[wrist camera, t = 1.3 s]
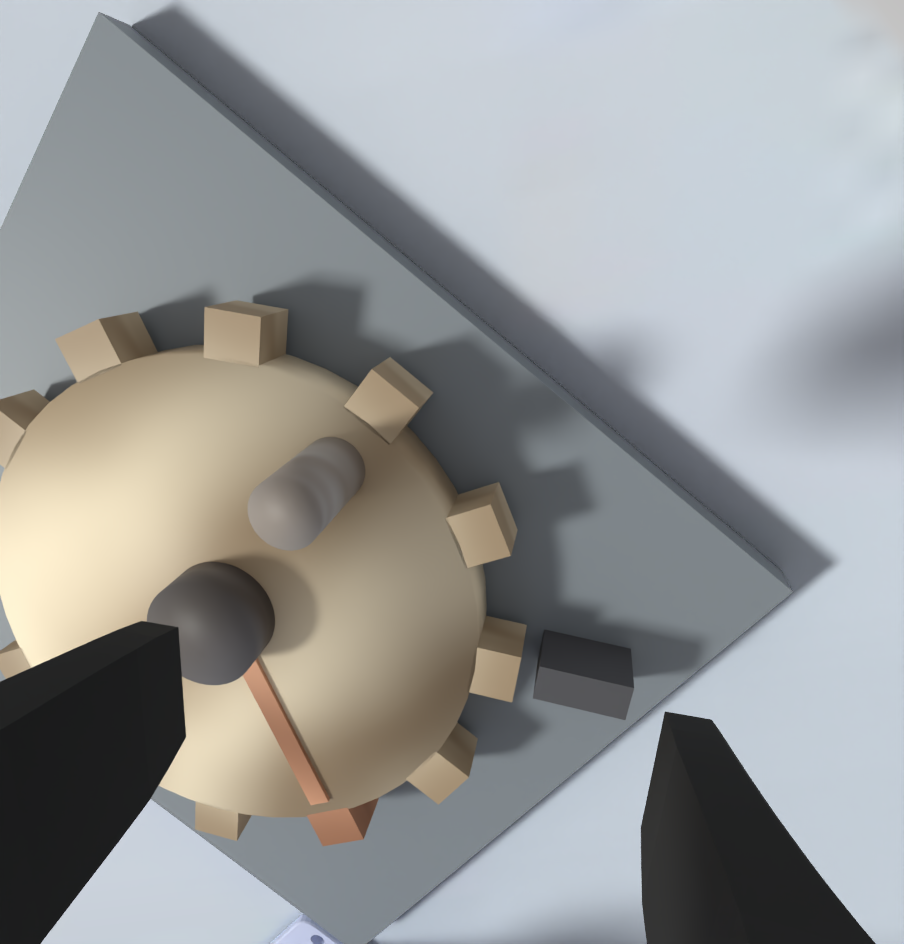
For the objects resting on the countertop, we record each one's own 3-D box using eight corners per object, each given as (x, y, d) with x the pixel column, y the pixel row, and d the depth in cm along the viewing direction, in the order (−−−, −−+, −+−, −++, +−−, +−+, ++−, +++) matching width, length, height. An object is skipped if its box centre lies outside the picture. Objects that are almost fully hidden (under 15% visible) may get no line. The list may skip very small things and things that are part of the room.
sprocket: (655, 575, 18) (673, 680, 14) (317, 885, 24) (259, 1025, 20) (153, 162, 17) (10, 141, 13) (-73, 590, 23) (-222, 673, 19)
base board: (781, 570, 19) (813, 629, 17) (365, 922, 27) (339, 1003, 24) (129, 25, 18) (44, -12, 15) (-121, 554, 25) (-210, 595, 22)
